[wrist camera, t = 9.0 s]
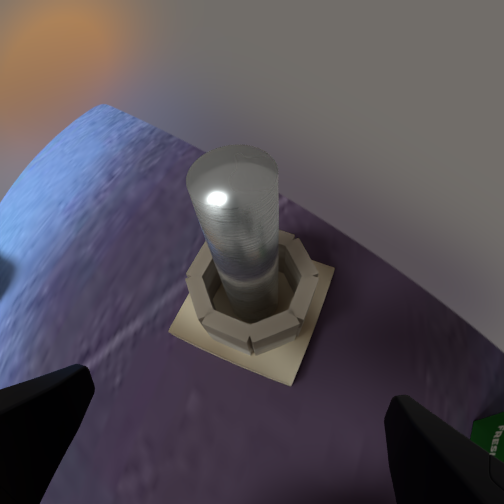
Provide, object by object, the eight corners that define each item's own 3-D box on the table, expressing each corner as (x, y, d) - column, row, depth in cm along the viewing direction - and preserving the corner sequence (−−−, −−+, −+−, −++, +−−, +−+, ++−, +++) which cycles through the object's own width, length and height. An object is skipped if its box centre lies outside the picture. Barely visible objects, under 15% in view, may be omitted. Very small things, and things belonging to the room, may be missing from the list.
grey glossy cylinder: (252, 332, 21) (222, 225, 10) (221, 299, 22) (170, 175, 11) (287, 301, 22) (297, 172, 11) (256, 271, 23) (238, 134, 12)
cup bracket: (290, 386, 19) (296, 378, 15) (172, 334, 22) (149, 312, 18) (332, 273, 24) (345, 240, 20) (226, 237, 27) (218, 200, 22)
